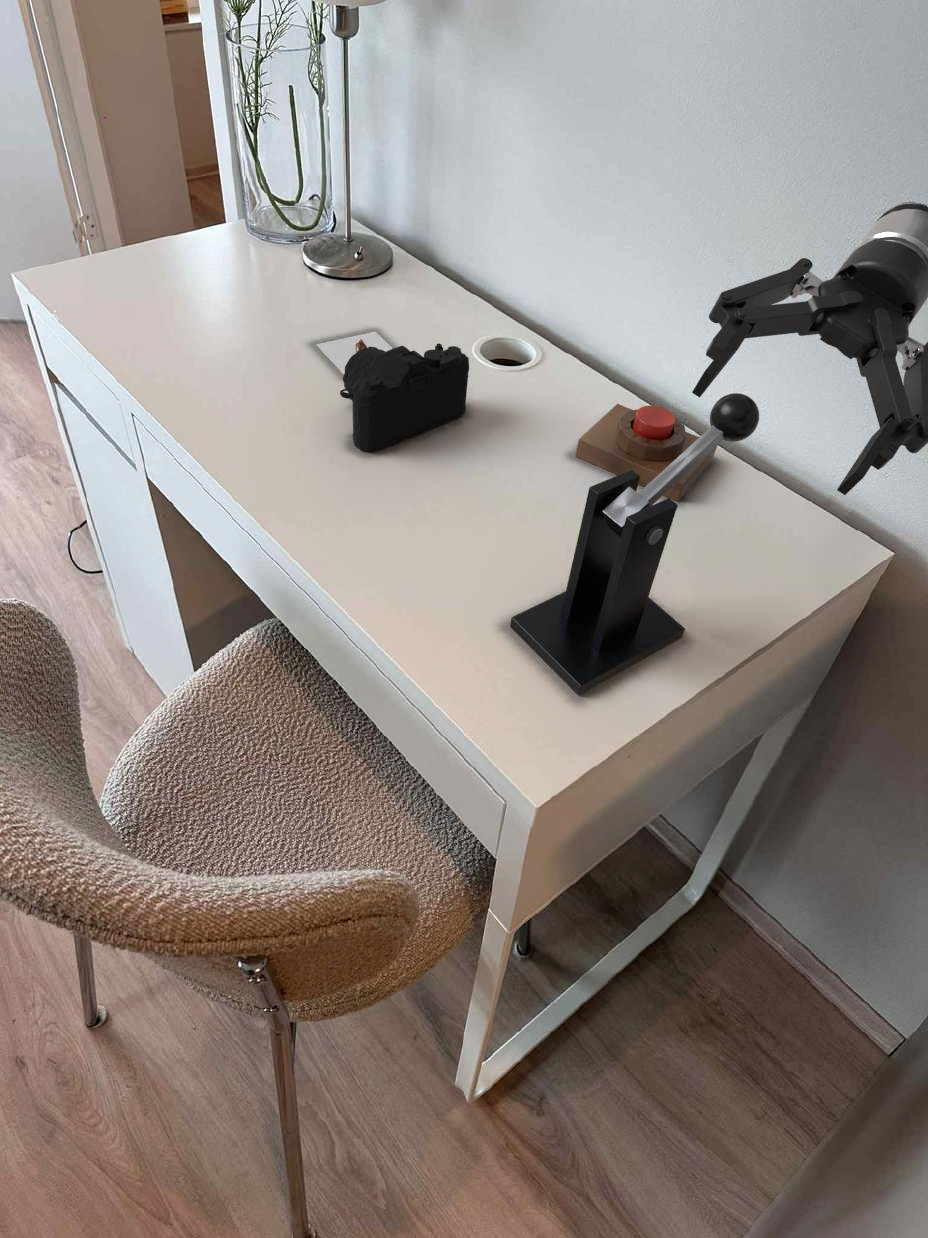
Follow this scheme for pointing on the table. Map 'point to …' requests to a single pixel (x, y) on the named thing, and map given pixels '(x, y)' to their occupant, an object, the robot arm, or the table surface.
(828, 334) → the robot arm
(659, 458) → the brown button base
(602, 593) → the black lever stand
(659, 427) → the button
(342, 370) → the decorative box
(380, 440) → the film camera
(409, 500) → the table surface
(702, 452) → the switch lever
